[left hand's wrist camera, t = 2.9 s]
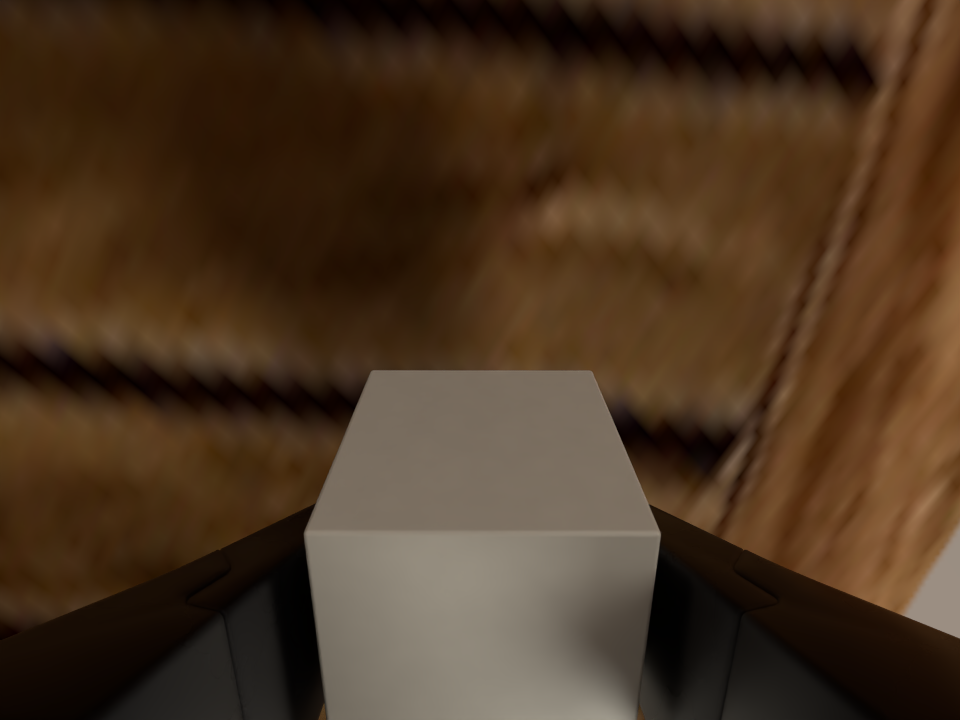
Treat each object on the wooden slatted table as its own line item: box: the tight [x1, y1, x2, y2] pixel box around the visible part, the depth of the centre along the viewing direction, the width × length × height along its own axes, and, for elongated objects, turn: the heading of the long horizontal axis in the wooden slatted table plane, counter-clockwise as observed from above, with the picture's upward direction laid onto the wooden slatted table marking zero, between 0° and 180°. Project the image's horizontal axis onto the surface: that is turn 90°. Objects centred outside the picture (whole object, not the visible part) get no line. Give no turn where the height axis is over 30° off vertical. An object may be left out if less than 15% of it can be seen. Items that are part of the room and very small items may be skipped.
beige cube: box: [304, 370, 661, 720], centre depth 10 cm, size 4×5×5 cm
